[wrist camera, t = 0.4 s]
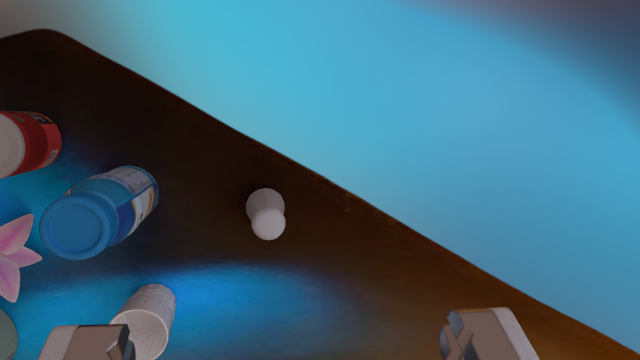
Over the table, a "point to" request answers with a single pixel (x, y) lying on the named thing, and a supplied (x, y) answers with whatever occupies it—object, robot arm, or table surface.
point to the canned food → (27, 142)
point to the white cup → (148, 319)
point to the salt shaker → (266, 213)
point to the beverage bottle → (98, 212)
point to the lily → (15, 255)
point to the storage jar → (7, 337)
